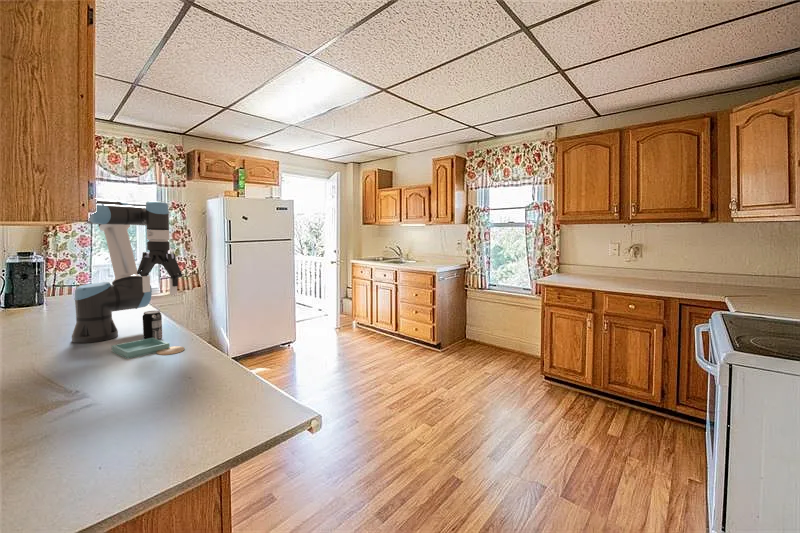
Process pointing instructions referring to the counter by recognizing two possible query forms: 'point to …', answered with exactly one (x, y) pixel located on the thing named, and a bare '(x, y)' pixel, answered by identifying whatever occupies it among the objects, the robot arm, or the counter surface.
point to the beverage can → (152, 325)
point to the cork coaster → (170, 350)
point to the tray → (139, 347)
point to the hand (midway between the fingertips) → (159, 293)
